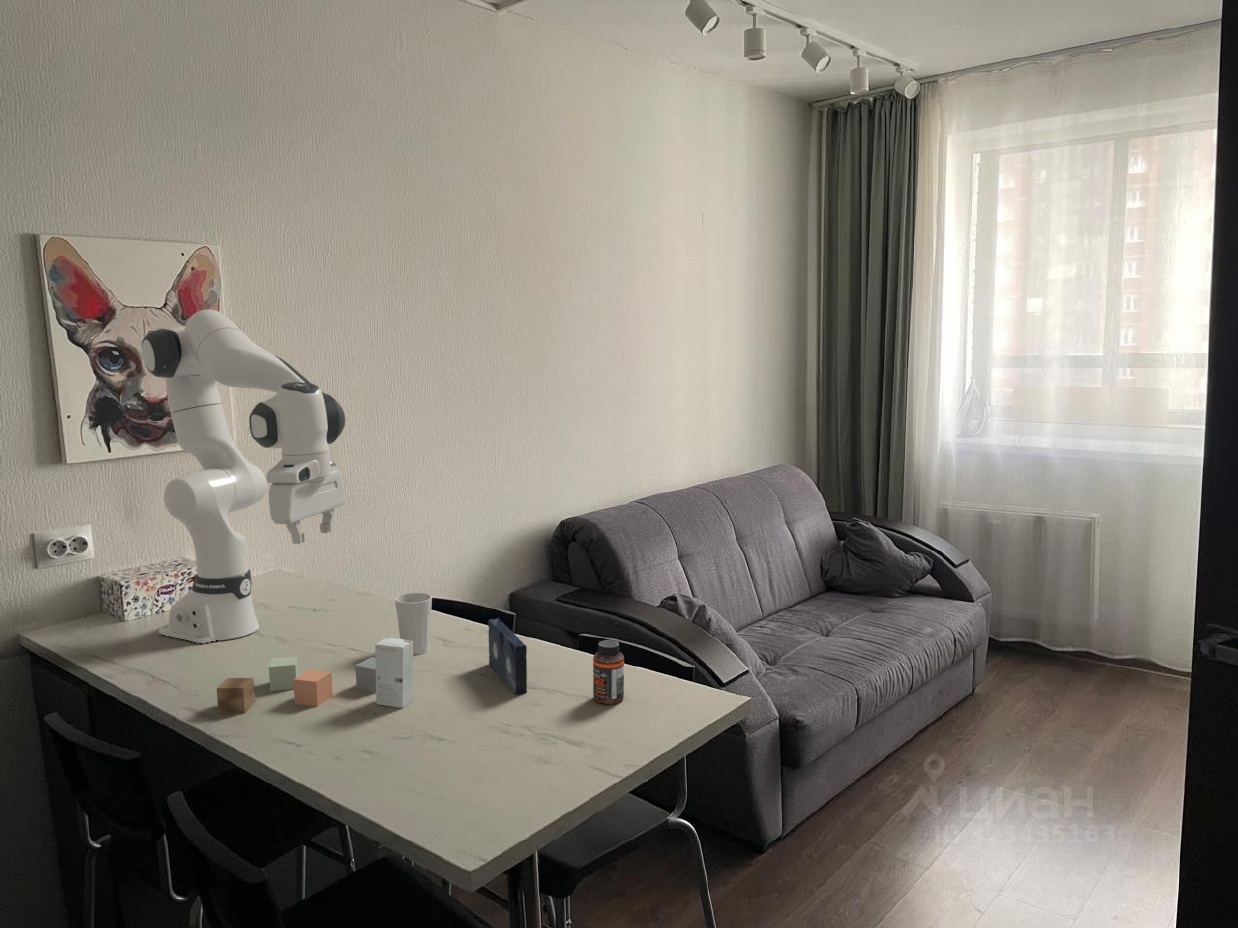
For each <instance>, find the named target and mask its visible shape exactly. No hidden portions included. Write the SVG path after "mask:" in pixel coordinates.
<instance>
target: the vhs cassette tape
mask: <svg viewBox="0 0 1238 928" xmlns="http://www.w3.org/2000/svg"><path fill="white" fill-rule="evenodd" d="M527 649H528V648H527V645H526V644H525V642H523V641H522V640H521V638H519V637H518V636H517V635H516V634H515V633H514V632H513V630H511V629H510V628H509V627H508V626H507V625H506V624H505V623H504V622H503V621H502V620H501V619H500V618H499V617H498V618H491V619H488V654H489V655H488V664H489V666H490V667H491V669H492V670H493V671H494V672H495V673H496V674H497V675H498V676H499V678H500V679H501V678H502V679H503V680H504V681H503V680H502V679H501V680H502V681H503V682H504V684H506V686H507V685H508V686H509V687H508V686H507V687H508V688H509V689H510V690H511V691H512V692H513V694H514V693H515V694H514V695H515V696H516V695H518V696H519V695H521V694H522V695H523V694H527V693H528V679H527V678H528V675H527V672H528V670H527V669H528V666H527V662H528V661H527V655H528V653H527Z"/></svg>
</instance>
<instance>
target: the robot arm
mask: <svg viewBox="0 0 1238 928" xmlns="http://www.w3.org/2000/svg"><path fill="white" fill-rule="evenodd" d="M141 357H142V361H143V363H144V366H145V368H146V369H147V371H148V372H149V373H150V374H151V375H152V376H154V377H157V378H165V379H166V380H165V381H166V382H165V385H166V387H165V388H166V396H167V402H168V403H167V404H168V409H169V412H170V416H171V421H172V424H173V427H174V431H175V437H176V440H177V444H178V446H179V447H180V449H182V451H185V452H186V453H188V454H191V455H193V457H194V458H196V460H197V461H198V462H199V464H200V466H201V467H202V469H200V470H196V471H190V472H186V473H183V474H182V475H180V476H178V477H175V478H174V479H172V480H171V481H169V482H168V483H167V485H166V486H165V489H164V492H163V501H164V506H165V509H166V510H167V511H168V513H169V514H170V515H171V516H172V517H173V518H175V520H178V521H179V522H181V523H182V524H183V525H184V526H185V528H186V529H187V531H188V533H189V534H190V537H191V540H192V542H193V547H194V552H195V561H196V562H195V563H196V574H195V575H193V576H190V577H188V578H187V580H189V581H187V583H188V584H190V583H192V586H191V589H190V591H188V592H187V593H186V594H185V595H183V596H182V597H181V598H180V599H179V600H177V602H175V603H174V604H173V605H172V606H171V608H170V610H169V615H168V616H169V617H168V618H169V619H168V623H166V624H164V625H163V626H162V627H160V628H159V630H158V635H159V634H163V635H168V636H173V637H178V638H183V639H186V640H190V641H193V642H192V643H194V642H196V643H195V644H199V643H202V644H208V643H212V642H211V641H213V642H216V640H218V641H225V640H232V639H236V638H241V637H245V636H248V635H250V634H253V633H255V632H257V631H258V630H259V629H260V627H261V625H260V623H259V620H258V618H257V615H256V612H255V606H254V603H253V597H252V593H251V592H252V574H251V570H250V569H249V558H248V557H249V556H248V547H247V546H248V544H247V539H246V537H245V535H243V534H242V533H241V532H239V531H238V530H235V529H233V527H232V525H231V523H230V519H229V517H228V514H229V513H233V512H236V511H241V510H245V509H247V508H249V507H251V506H253V505H255V503H259V502H260V501H261V500H262V499H263V498H264V497H265V495H266V492H267V488H268V487H267V486H268V485H267V483H268V484H270V486H269V488H268V505H269V515H270V518H271V520H272V522H273V523H274V524H275V525H286V528H287V530H288V532H289V533H290V536H291V542H292V544H294V545H300V544H302V543H305V541H306V540H305V533H302V531H301V529H300V526H301V521H302V520H305V519H308V518H312V517H313V516H316V515H319V514H321V515H322V521H321V523H320V524H319V529H320V530H319V532H320V533H322V534H328V533H331V532H332V531H333V525H332V523H333V520H334V518H335V509H336V508H339V507H342V506H344V505H345V502H346V492H345V486H344V479H343V475H342V473H341V472H340V470H339V466H338V465H337V464H336V463H335V462H334V461H333V460H331V452H330V446H329V445H331V444H333V443H335V442H336V440H337V439H338V438H339V437H340V435H341V434H342V432H343V431H344V429H345V426H346V415H345V411H344V409H343V407H342V406H341V404H340V403H339V401H337V400H336V399H335V397H333V396H332V395H330V394H329V393H325V392H323V391H322V389H321V387H319V386H318V385H317V384H315V383H312V382H311V381H309V380H308V379H307V378H306V377H304V375H302V374H301V373H300V372H299V371H297V370H296V368H294V367H293V366H292V365H291V364H289V363H288V362H287V361H286V360H284V359H282V358H281V357H279V356H277V355H275V354H273V353H271V352H269V351H267V350H266V349H264V348H263V347H261V346H259V344H257V343H256V342H254V341H253V340H252V339H250V338H249V337H248V336H247V335H246V333H245V331H244V330H243V329H242V328H241V327H240V326H239V325H238V324H237V323H235V322H234V321H233V320H232V319H230V318H229V317H227V316H226V315H224V313H222V312H220V311H218V310H215V309H208V308H207V309H201V310H198V311H197V312H195V313H194V314H192V315H191V316H190V317H189V318H188V319H187V321H186V323H185V325H180V326H175V327H170V328H167V329H166V328H159V329H156V330H153V331H150V332H148V333H147V334H146V335H145V337H144V338H143V339H142V341H141ZM217 383H219V384H221V385H223V386H226V387H230V388H239V389H240V388H242V389H244V388H245V389H257V390H265V391H271V392H274V393H276V394H275V395H273V396H272V397H270V398H268V399H266V400H265V401H261V402H258V403H257V404H256V405H255V406H254V408H253V409H252V410H251V412H250V414H249V419H248V420H249V421H248V422H249V430H250V435H251V438H253V441H255V442H256V443H257V444H258V445H259V446H261V447H263V448H265V449H272V450H273V449H281V460H279V461H278V462H277V464H275V465H274V466H273V467H272V468H271V469H269V470H268V471H267V473H266V475H265V474H264V473H263V471H262V470H261V469H260V468H259V467H258V466H256V465H255V464H253V463H251V462H250V460H248V459H247V458H246V457H245V455H243V453H242V452H241V450H240V449H239V447H238V446H237V445H236V443H235V441H234V439H233V437H232V434H231V431H230V429H229V424H228V421H227V418H226V414H225V410H224V406H223V404H222V403H223V402H222V398H221V395H220V392H219V390H218V386H217ZM259 626H260V627H259ZM190 641H189V642H190ZM207 642H208V643H207Z"/></svg>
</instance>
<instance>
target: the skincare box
mask: <svg viewBox="0 0 1238 928" xmlns="http://www.w3.org/2000/svg"><path fill="white" fill-rule="evenodd" d="M374 649H375V650H374V651H375V658H376V693H375V698H376V699H375V703H376V705H379V706H386V707H392V708H397V709H398V708H399V709H403V708H405V707H406V706H409V704H410V703H412V702H413V701H414V655H413V641H409V640H403V639H400V638H396V637H395V638H392V637H385V638H383V639H382V640H380V641H378V642H377V643H375V648H374Z"/></svg>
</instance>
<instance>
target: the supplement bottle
mask: <svg viewBox="0 0 1238 928" xmlns="http://www.w3.org/2000/svg"><path fill="white" fill-rule="evenodd" d="M597 646H598V647H597V652H595V654H594V655H593V658H592V666H593V669H592V672H593V674H592V677H593V679H592V680H593V682H592V684H593V685H592V687H593V688H592V690H593V691H592V693H593V695H592V697H593V699H594V701H595V702H597V703H599V704H603V705H614V704H619V703H620V702H621V701H623V700H624V697H625V696H624V695H625V657H624V654H623V653H622V652H620V643H619V642H618V641H617V640H612V639H611V640H610V639H606V640H604V639H603V640H601V641H599V642H598V645H597Z"/></svg>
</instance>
